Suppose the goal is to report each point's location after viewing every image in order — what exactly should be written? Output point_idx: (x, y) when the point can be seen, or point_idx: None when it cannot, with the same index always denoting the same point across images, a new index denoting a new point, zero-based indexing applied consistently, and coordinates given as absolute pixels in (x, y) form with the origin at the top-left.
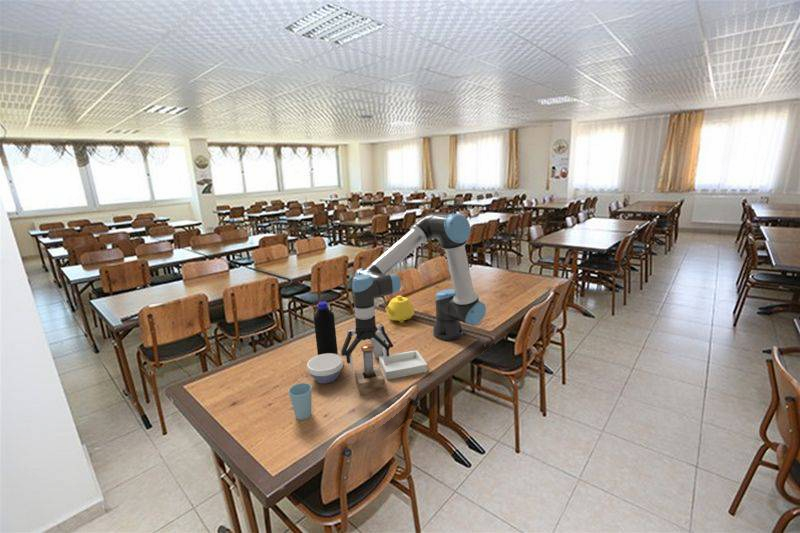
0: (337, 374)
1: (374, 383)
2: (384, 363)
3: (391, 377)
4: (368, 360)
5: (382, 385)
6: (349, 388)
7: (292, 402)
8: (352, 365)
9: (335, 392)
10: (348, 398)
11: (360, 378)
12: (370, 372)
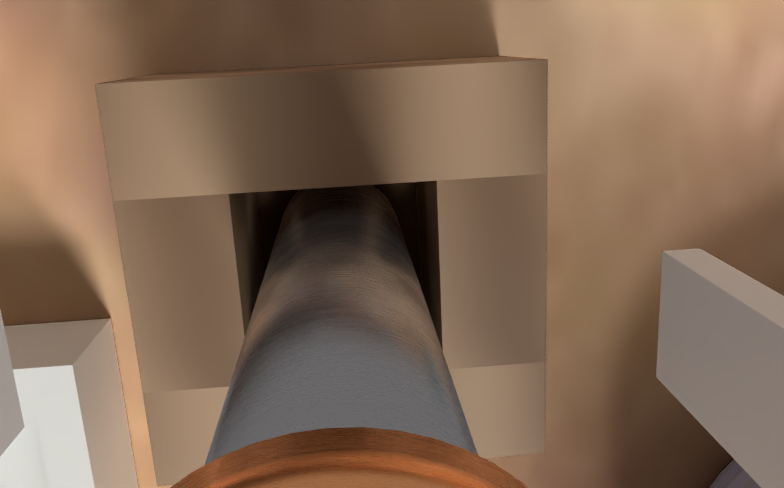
0: (745, 484)
1: (287, 72)
2: (5, 370)
3: (34, 329)
4: (350, 323)
5: (170, 75)
6: (598, 248)
7: None
8: (733, 296)
9: (771, 210)
10: (648, 31)
11: (496, 210)
12: (325, 232)
